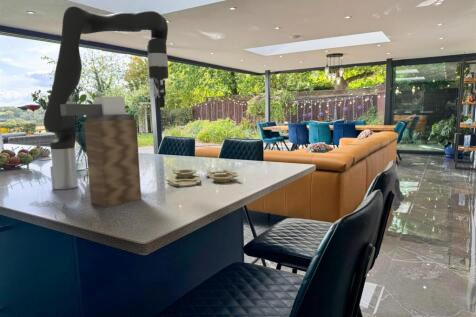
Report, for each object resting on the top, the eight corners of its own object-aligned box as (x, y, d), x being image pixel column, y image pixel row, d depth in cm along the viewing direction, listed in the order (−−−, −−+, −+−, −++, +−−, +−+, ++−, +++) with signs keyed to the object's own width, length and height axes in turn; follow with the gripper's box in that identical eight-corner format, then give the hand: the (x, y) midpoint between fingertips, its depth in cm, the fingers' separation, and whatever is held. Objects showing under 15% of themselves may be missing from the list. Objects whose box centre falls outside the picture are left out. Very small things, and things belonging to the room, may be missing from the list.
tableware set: (166, 189, 140) (165, 179, 139) (164, 176, 168) (164, 168, 168) (246, 183, 148) (246, 174, 147) (232, 172, 176) (232, 164, 176)
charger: (68, 115, 102) (66, 95, 102) (59, 115, 106) (57, 96, 105) (125, 114, 118) (124, 97, 117) (115, 114, 122) (114, 98, 121)
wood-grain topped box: (106, 207, 112) (99, 114, 108) (90, 202, 119) (83, 114, 114) (141, 198, 123) (136, 113, 119) (125, 194, 129) (120, 114, 125)
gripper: (146, 68, 137) (149, 108, 140) (150, 63, 124) (153, 107, 126) (165, 68, 140) (167, 107, 142) (170, 64, 127) (172, 107, 129)
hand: (160, 107), depth 134 cm, fingers open, 8 cm apart
